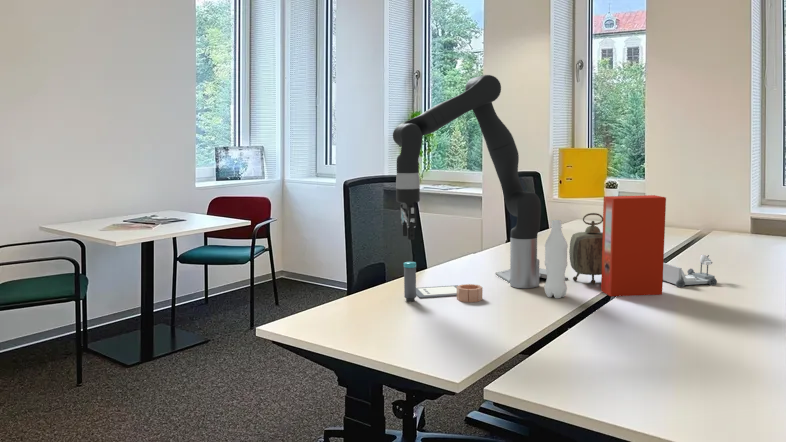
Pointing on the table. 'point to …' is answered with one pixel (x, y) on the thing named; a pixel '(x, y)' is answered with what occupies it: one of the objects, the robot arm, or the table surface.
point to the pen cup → (469, 293)
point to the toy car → (680, 279)
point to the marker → (410, 281)
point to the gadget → (506, 274)
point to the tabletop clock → (587, 250)
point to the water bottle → (556, 261)
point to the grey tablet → (436, 291)
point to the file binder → (633, 245)
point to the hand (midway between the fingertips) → (408, 237)
